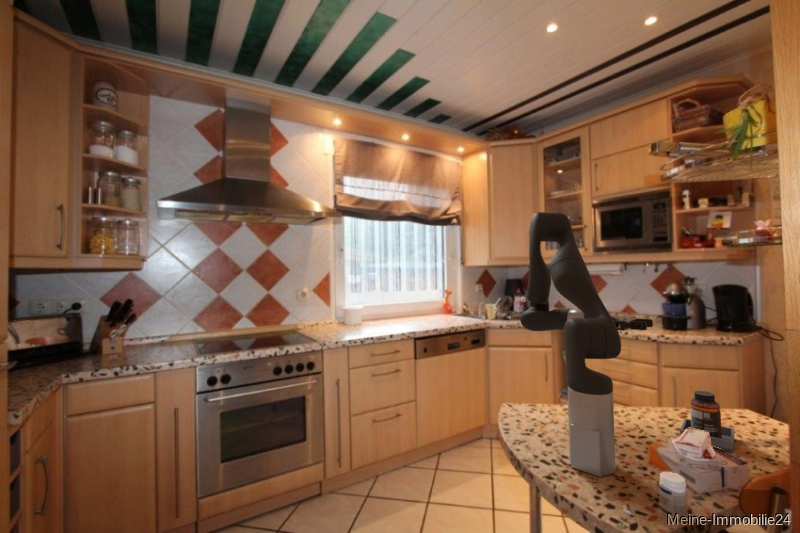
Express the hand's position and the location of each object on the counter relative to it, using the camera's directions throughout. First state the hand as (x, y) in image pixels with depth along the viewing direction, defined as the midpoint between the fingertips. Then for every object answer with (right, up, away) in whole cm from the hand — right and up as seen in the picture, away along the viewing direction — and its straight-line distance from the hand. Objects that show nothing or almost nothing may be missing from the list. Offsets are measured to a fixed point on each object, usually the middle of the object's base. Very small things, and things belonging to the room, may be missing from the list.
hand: (649, 324), depth 98 cm
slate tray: (+10, -29, -6) cm, 31 cm away
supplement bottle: (+10, -28, -6) cm, 31 cm away
